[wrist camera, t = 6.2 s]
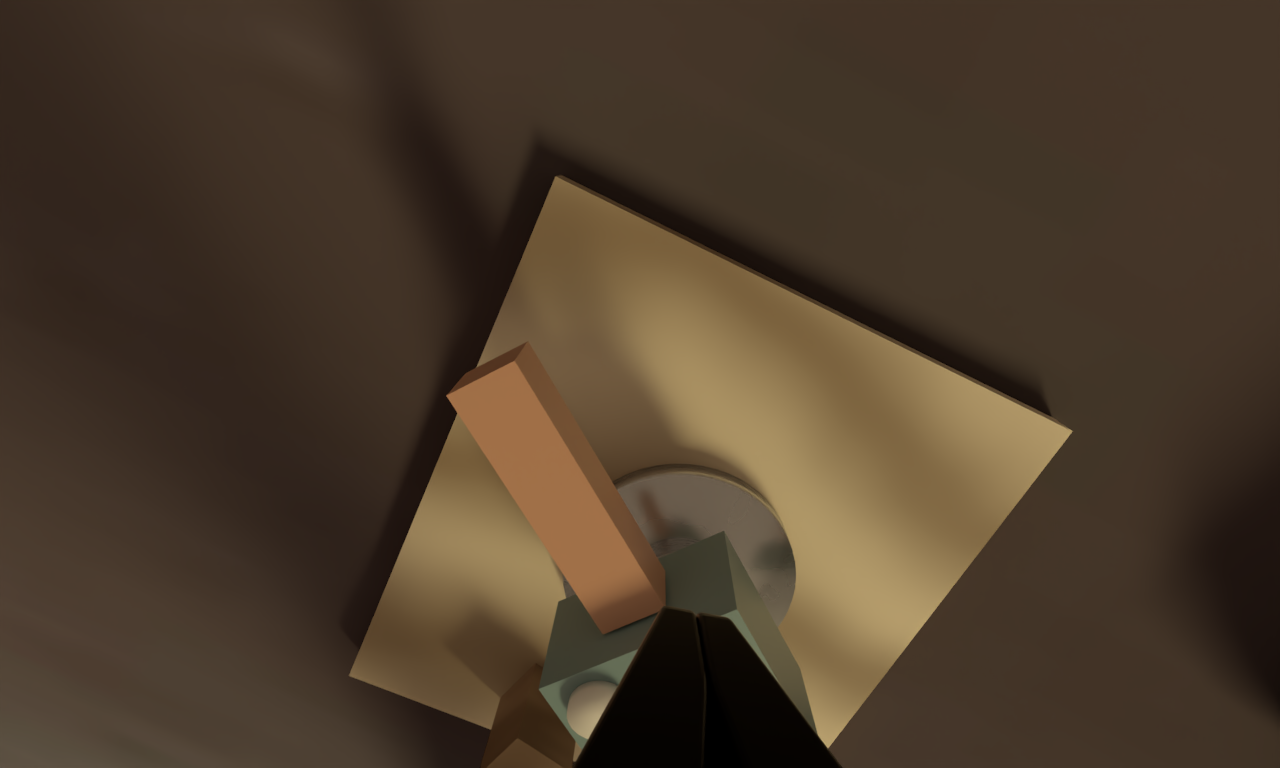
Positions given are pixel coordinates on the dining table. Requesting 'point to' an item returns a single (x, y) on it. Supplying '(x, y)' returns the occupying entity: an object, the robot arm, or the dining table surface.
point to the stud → (712, 523)
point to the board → (709, 460)
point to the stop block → (528, 730)
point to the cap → (600, 546)
